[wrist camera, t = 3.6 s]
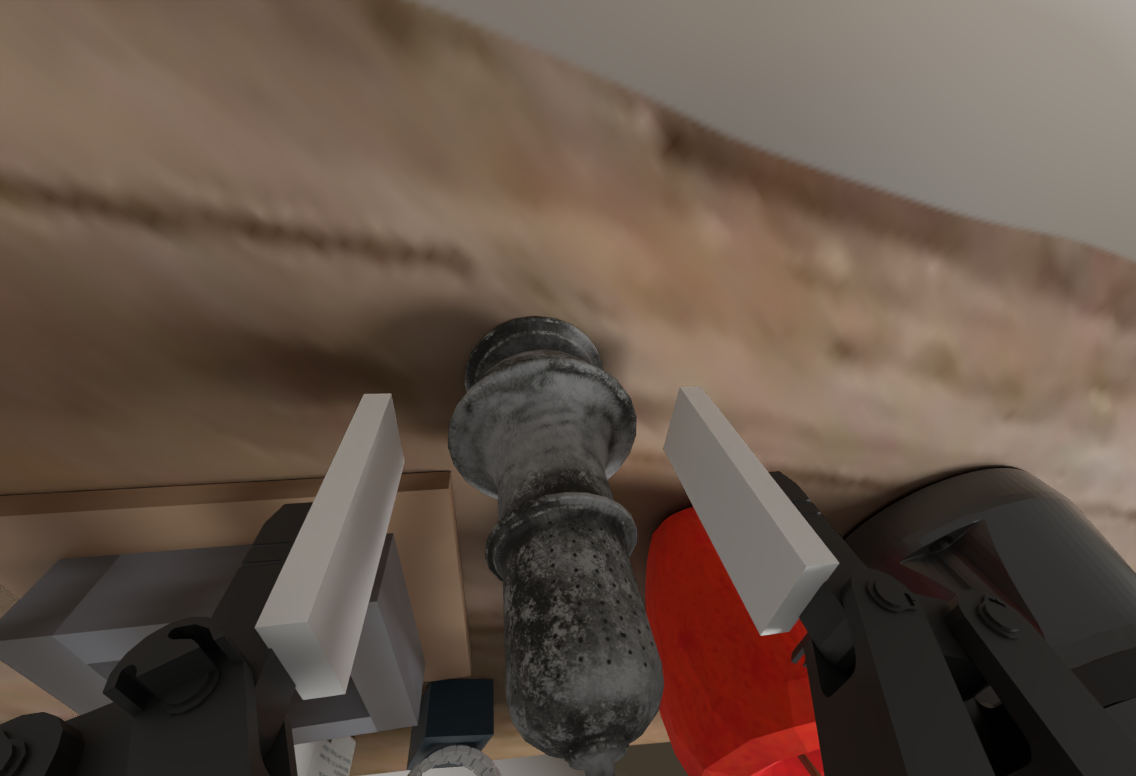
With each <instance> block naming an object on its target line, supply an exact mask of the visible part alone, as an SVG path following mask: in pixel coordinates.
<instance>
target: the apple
mask: <svg viewBox="0 0 1136 776" xmlns="http://www.w3.org/2000/svg"><path fill="white" fill-rule="evenodd" d="M645 601H646V614H647V618H648V621H649V624H650V627H651V630H652V634H653V637H654V640H655V643H656V646H657V650H658V653H659V656H660V659H661V662H662V669H663V677H664V689H663V695H662V699H661V703H660V706H659V710H660V714H661V717H662V720H663V723H664V725H665V728H666V731H667V733H668V736H669V739H670V741H671V744H672V747H673V749H674V752H675V755H676V756H677V758H678V760H679V761H680V763H681V764H682V766H683V767H684V769H685V770H686V772H687V774H688V775H689V776H824V770H823V763H822V757H821V751H820V745H819V739H818V733H817V727H816V721H815V715H814V709H813V702H812V696H811V690H810V684H809V678H808V672H807V668H806V667H803V664H804V662H805V654H804V655H803V656H802V657H801V658H800V660H799V661H798V662H797V663H796V664H794V663H792V662H791V654H792V652H793V650H794V649H795V648H796V646H797V645H798V644H799V642H800V641H801V640H802V639H803V637H804V636H805V635H806V634H807V630H806V628H805V627H804V625H803V624H802V622H801V620H800V619H798V620H797V622H796V623H795V625H794V626H793V627H792V629H791V630H790V631H789V632H784V633H777V634H770V635H763V636H760V634H759V632H758V630H757V628H756V626H755V624H754V622H753V620H752V618H751V617H750V615H749V613H748V611H747V609H746V607H745V605H744V603H743V601H742V599H741V597H740V595H739V593H738V592H737V590H736V588H735V586H734V584H733V582H732V580H731V578H730V576H729V574H728V572H727V570H726V569H725V567H724V565H723V563H722V561H721V559H720V557H719V555H718V553H717V551H716V549H715V547H714V545H713V544H712V542H711V540H710V538H709V536H708V534H707V532H706V530H705V528H704V526H703V524H702V522H701V521H700V519H699V517H698V515H697V513H696V511H695V509H694V507H690V508H687V509H684V510H682V511H679V512H677V513H675V514H673V515H671V516H670V517H668V518H667V519H665V520H664V521H663V522H662V524H661V525H660V526H659V527H658V528H657V529H656V530H655V532H654V533H653V534H652V539H651V543H650V547H649V553H648V559H647V565H646V586H645Z"/></svg>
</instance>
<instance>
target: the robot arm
mask: <svg viewBox="0 0 1136 776" xmlns="http://www.w3.org/2000/svg"><path fill="white" fill-rule="evenodd" d="M663 449H664V451H665V453H666V455H667V457H668V459H669V461H670V463H671V465H672V467H673V469H674V471H675V473H676V474H677V476H678V478H679V480H680V482H681V484H682V486H683V488H684V490H685V492H686V494H687V496H688V497H689V499H690V501H691V503H692V505H693V507H694V509H695V511H696V513H697V515H698V517H699V519H700V521H701V522H702V524H703V526H704V528H705V530H706V532H707V534H708V536H709V538H710V540H711V542H712V544H713V545H714V547H715V549H716V551H717V553H718V555H719V557H720V559H721V561H722V563H723V565H724V567H725V569H726V570H727V572H728V574H729V576H730V578H731V580H732V582H733V584H734V586H735V588H736V590H737V592H738V593H739V595H740V597H741V599H742V601H743V603H744V605H745V607H746V609H747V611H748V613H749V615H750V617H751V618H752V620H753V622H754V624H755V626H756V628H757V630H758V632H759V634H760V636H763V635H770V634H777V633H784V632H789V631H790V630H791V629H792V627H793V626H794V625H795V623H796V622H797V620H798V619H800V620H801V622H802V624H803V625H804V627H805V628H806V630H807V634H806V635H805V636H804V637H803V639H802V640H801V641H800V642H799V644H798V645H797V646H796V648H795V649H794V650H793V652H792V654H791V662H792V663H794V664H796V663H797V662H798V661H799V660H800V658H801V657H802V656H803V655H804V654H805V662H804V664H803V667H806V668H807V672H808V678H809V684H810V690H811V696H812V702H813V709H814V715H815V721H816V727H817V733H818V739H819V745H820V751H821V757H822V763H823V770H824V776H1136V573H1135V572H1134V571H1133V570H1132V568H1131V567H1130V566H1129V565H1128V564H1127V563H1126V562H1125V560H1124V559H1123V558H1122V557H1121V556H1120V555H1119V554H1118V552H1117V551H1116V550H1115V549H1114V548H1113V547H1112V546H1111V544H1110V543H1109V542H1108V541H1107V540H1106V539H1105V538H1104V536H1103V535H1102V534H1101V533H1100V532H1099V531H1098V530H1097V529H1096V527H1095V526H1094V525H1093V524H1092V523H1091V522H1090V521H1089V520H1088V519H1087V517H1086V516H1085V515H1084V514H1083V513H1082V511H1081V510H1080V509H1079V508H1078V507H1077V506H1076V505H1075V504H1074V503H1073V502H1072V501H1070V500H1069V499H1068V498H1067V497H1065V496H1064V495H1062V494H1061V493H1059V492H1058V491H1056V490H1055V489H1053V488H1052V487H1050V486H1049V485H1047V484H1046V483H1044V482H1042V481H1041V480H1039V479H1038V478H1036V477H1035V476H1033V475H1032V474H1030V473H1028V472H1026V471H1023V470H1019V469H1012V468H994V469H986V470H979V471H975V472H970V473H966V474H962V475H959V476H955V477H952V478H949V479H946V480H943V481H941V482H938V483H935V484H933V485H930V486H928V487H926V488H923V489H921V490H919V491H917V492H915V493H913V494H911V495H909V496H907V497H905V498H903V499H901V500H899V501H898V502H896V503H894V504H892V505H891V506H889V507H887V508H886V509H884V510H882V511H881V512H879V513H878V514H876V515H875V516H873V517H872V518H870V519H869V520H868V521H866V522H865V523H864V524H862V525H861V526H860V527H859V528H857V529H856V530H855V531H854V532H853V533H851V534H850V535H849V536H848V537H847V538H846V539H845V540H843V539H842V537H841V536H840V535H839V534H838V533H837V531H836V530H835V529H834V528H833V527H832V525H831V524H830V523H829V522H828V521H827V519H826V518H825V517H824V516H821V514H820V513H821V512H820V511H819V510H818V509H817V507H816V506H815V505H814V504H813V503H810V499H809V498H808V497H807V496H806V494H805V493H804V492H803V491H802V490H801V488H800V487H799V486H798V485H797V484H796V483H795V482H793V481H792V480H791V479H789V478H788V477H786V476H785V475H784V474H782V473H781V472H780V471H776V472H768V471H767V470H766V469H765V467H764V466H763V465H762V464H761V462H760V461H759V460H758V459H757V457H756V456H755V455H754V453H753V452H752V451H751V450H750V448H749V447H748V446H747V445H746V443H745V442H744V441H743V439H742V438H741V437H740V436H739V434H738V433H737V432H736V430H735V429H734V428H733V427H732V425H731V424H730V423H729V422H728V420H727V419H726V418H725V416H724V415H723V414H722V413H721V411H720V410H719V409H718V408H717V406H716V405H715V404H714V402H713V401H712V400H711V399H710V397H709V396H708V395H707V394H706V392H705V391H704V390H703V388H702V387H680V389H679V392H678V396H677V400H676V403H675V407H674V411H673V414H672V418H671V422H670V425H669V429H668V433H667V437H666V440H665V444H664V448H663ZM404 463H405V461H404V455H403V450H402V445H401V440H400V435H399V430H398V424H397V419H396V414H395V409H394V404H393V399H392V394H391V393H387V394H364V395H363V397H362V399H361V401H360V403H359V406H358V408H357V410H356V412H355V414H354V416H353V418H352V421H351V423H350V425H349V427H348V429H347V431H346V433H345V435H344V438H343V440H342V442H341V444H340V446H339V448H338V450H337V453H336V455H335V457H334V459H333V461H332V463H331V465H330V468H329V470H328V472H327V474H326V476H325V478H324V480H323V482H322V485H321V487H320V489H319V491H318V493H317V495H316V497H315V500H314V502H306V503H290V504H284V505H283V506H282V507H281V508H280V509H279V510H278V511H277V512H276V513H274V514H273V515H272V516H271V517H270V518H269V519H268V520H267V521H266V522H265V523H264V525H263V526H262V528H261V530H260V532H259V533H258V535H257V537H256V539H255V541H254V542H253V544H252V549H249V551H248V553H247V555H246V556H245V558H244V560H243V562H242V567H239V569H238V571H237V572H236V574H235V576H234V578H233V579H232V581H231V583H230V585H229V587H228V588H227V590H226V592H225V594H224V595H223V597H222V599H221V601H220V602H219V604H218V606H217V608H216V610H215V611H214V613H213V615H212V617H211V618H209V617H189V618H186V619H182V620H179V621H176V622H172V623H169V624H168V625H166V626H164V627H162V628H160V629H159V630H157V631H155V632H153V633H151V634H150V635H148V636H146V637H145V638H144V639H143V640H142V641H140V642H139V643H138V644H137V645H136V646H134V647H133V648H132V649H131V650H129V651H128V652H127V653H126V654H125V655H124V657H123V658H122V659H121V660H120V662H119V663H118V664H117V665H116V667H115V668H114V669H113V670H112V672H111V673H110V675H109V677H108V680H107V682H106V685H105V687H104V690H103V692H102V693H103V694H104V695H105V696H107V697H108V698H109V699H111V700H112V701H113V702H112V703H110V704H107V705H105V706H102V707H100V708H98V709H95V710H93V711H90V712H88V713H85V714H83V715H80V716H78V717H75V718H73V719H70V720H68V721H63V720H62V719H60V718H59V717H57V716H54V715H51V714H48V713H45V712H40V713H34V714H28V715H22V716H19V717H17V718H15V719H12V720H10V721H8V722H5V723H3V724H1V725H0V776H298V773H297V765H296V758H295V750H294V742H293V734H292V727H291V722H290V719H289V717H288V715H287V710H288V707H289V704H290V702H291V699H292V696H293V693H294V690H295V689H296V690H297V692H298V693H299V695H300V696H301V698H302V699H303V700H307V699H314V698H321V697H328V696H335V695H342V694H345V693H346V690H347V686H348V682H349V678H350V674H351V670H352V666H353V662H354V658H355V654H356V650H357V646H358V643H359V639H360V635H361V631H362V627H363V623H364V619H365V615H366V611H367V607H368V603H369V600H370V596H371V592H372V588H373V584H374V580H375V576H376V572H377V568H378V564H379V560H380V557H381V553H382V549H383V545H384V541H385V537H386V533H387V529H388V525H389V521H390V517H391V514H392V510H393V506H394V502H395V498H396V494H397V490H398V486H399V482H400V478H401V474H402V470H403V467H404Z"/></svg>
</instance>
